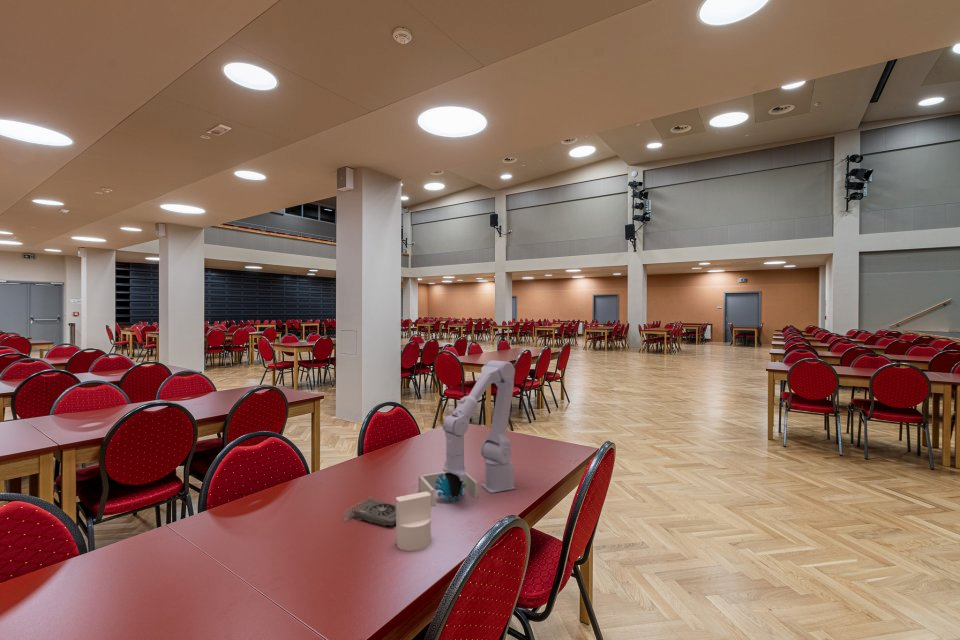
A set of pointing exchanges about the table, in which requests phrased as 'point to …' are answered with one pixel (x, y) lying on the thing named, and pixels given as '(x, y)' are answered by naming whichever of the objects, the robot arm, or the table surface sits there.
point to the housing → (429, 482)
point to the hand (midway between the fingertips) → (455, 495)
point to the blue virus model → (447, 488)
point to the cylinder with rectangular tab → (413, 521)
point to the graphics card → (373, 512)
